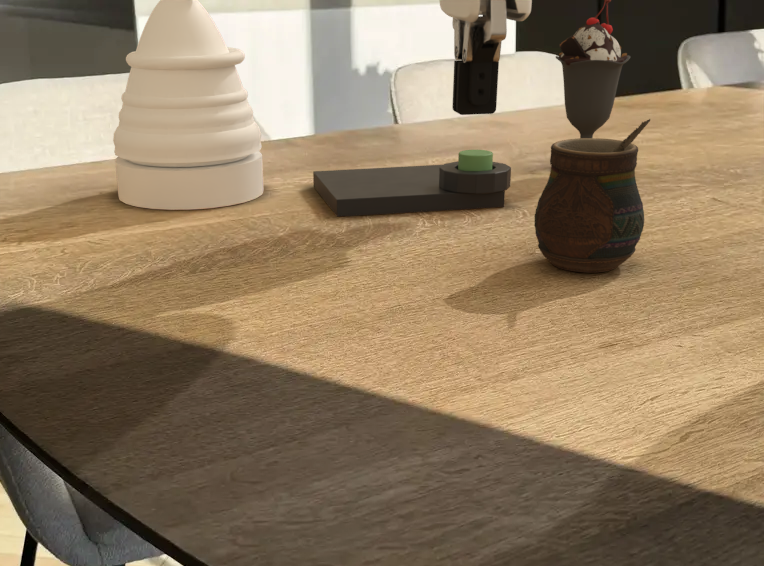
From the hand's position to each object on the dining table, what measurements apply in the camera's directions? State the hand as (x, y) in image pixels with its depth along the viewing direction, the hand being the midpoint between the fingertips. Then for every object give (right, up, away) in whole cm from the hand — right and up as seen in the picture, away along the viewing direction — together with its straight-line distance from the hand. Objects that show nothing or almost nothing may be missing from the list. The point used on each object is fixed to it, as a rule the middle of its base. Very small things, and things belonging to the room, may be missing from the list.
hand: (474, 112), depth 90 cm
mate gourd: (+6, -15, -15) cm, 22 cm away
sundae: (+12, -1, +15) cm, 19 cm away
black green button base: (-5, -6, +6) cm, 10 cm away
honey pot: (-24, -5, +9) cm, 26 cm away
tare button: (0, -4, +2) cm, 5 cm away
